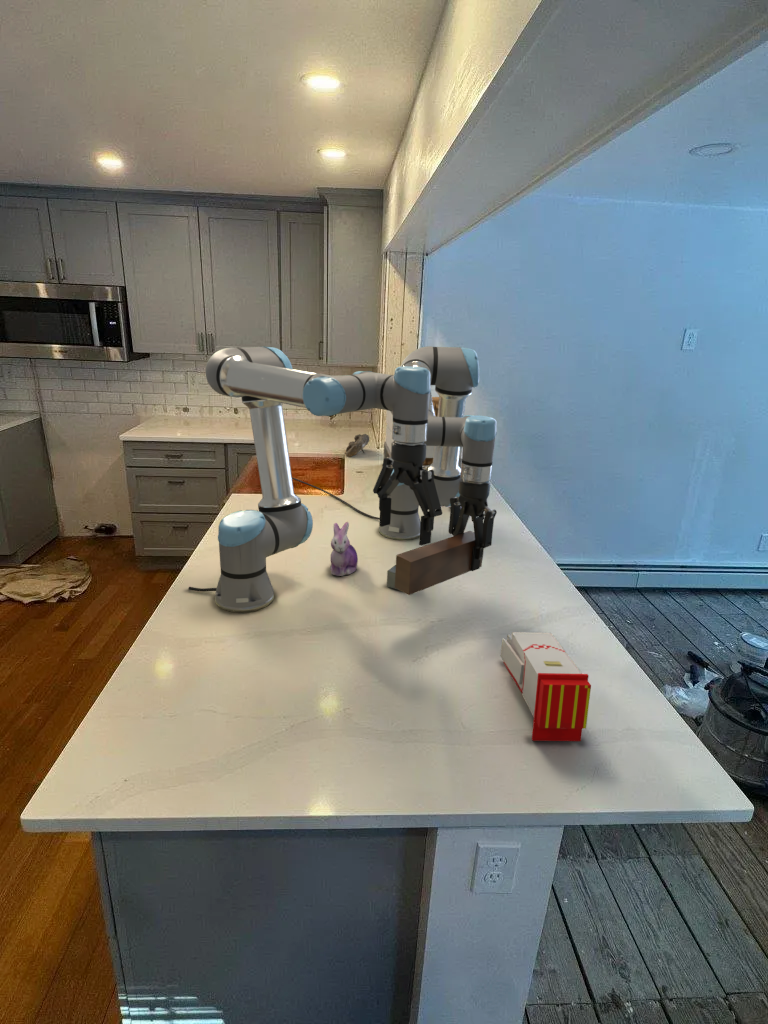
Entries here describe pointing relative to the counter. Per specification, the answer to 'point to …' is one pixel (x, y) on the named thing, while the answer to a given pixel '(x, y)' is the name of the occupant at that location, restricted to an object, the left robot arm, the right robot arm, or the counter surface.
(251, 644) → the counter surface
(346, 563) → the figurine
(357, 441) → the fossil
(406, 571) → the walnut bar
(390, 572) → the grey block
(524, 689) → the toy
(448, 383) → the right robot arm
